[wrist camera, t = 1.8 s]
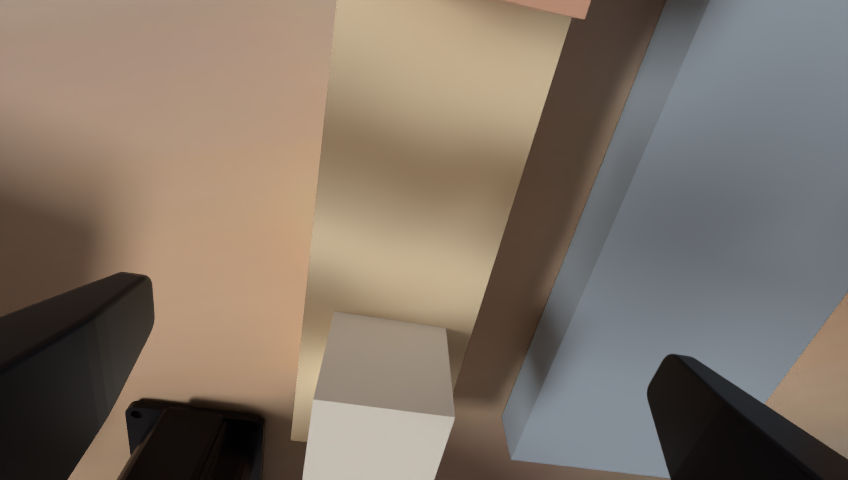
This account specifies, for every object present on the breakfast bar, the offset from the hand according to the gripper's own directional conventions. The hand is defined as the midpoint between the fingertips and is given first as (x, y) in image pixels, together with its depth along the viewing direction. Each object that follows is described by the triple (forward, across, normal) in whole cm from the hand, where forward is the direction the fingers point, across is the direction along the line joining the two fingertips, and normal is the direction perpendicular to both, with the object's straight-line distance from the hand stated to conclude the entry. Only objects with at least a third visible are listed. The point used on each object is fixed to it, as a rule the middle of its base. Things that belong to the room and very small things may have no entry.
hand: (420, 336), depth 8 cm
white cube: (+7, 0, +7) cm, 10 cm away
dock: (+11, -12, 0) cm, 16 cm away
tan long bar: (+11, 0, 0) cm, 11 cm away
